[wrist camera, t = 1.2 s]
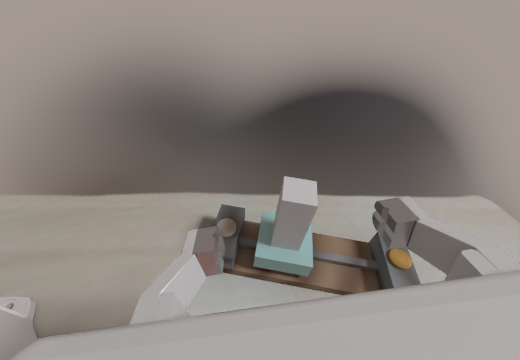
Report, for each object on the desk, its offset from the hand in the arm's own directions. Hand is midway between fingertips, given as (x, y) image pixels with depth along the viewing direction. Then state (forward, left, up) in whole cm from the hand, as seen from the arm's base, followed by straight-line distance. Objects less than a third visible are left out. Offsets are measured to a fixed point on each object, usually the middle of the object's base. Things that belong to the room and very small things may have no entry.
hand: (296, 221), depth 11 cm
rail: (+6, +11, -25) cm, 28 cm away
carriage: (+2, +11, -22) cm, 25 cm away
